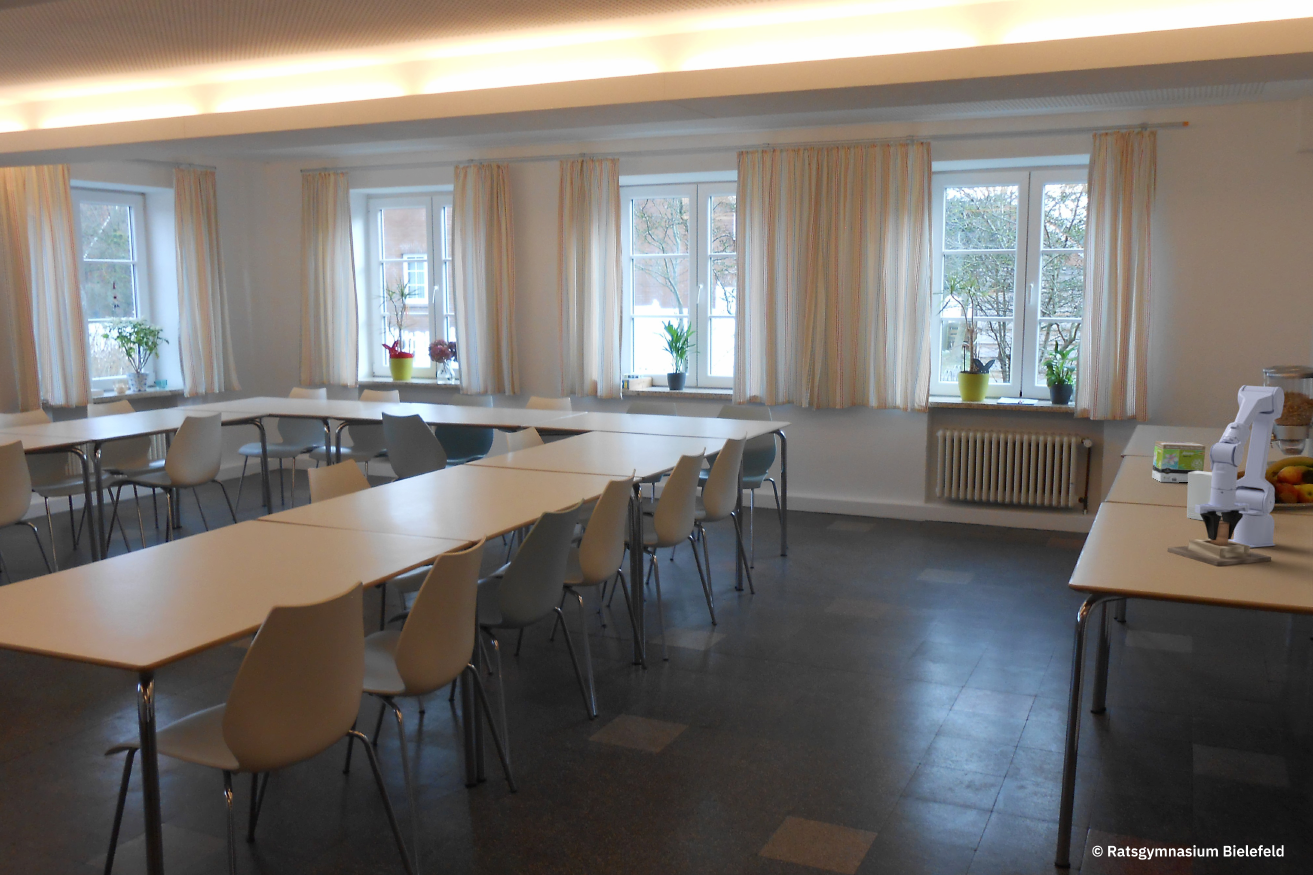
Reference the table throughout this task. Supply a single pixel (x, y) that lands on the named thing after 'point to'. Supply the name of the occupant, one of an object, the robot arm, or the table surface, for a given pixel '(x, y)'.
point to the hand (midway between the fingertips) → (1219, 538)
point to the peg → (1221, 535)
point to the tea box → (1177, 460)
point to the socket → (1219, 553)
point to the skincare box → (1198, 492)
